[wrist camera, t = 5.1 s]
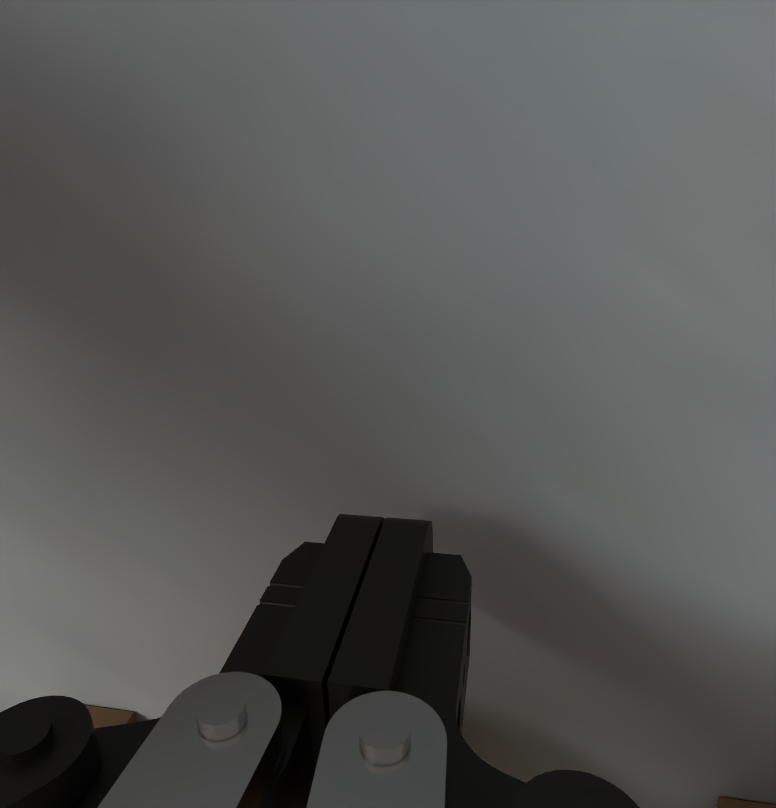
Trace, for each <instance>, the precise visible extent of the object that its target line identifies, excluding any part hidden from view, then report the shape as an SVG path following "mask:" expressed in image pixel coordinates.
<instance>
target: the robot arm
mask: <svg viewBox="0 0 776 808" xmlns="http://www.w3.org/2000/svg"><path fill="white" fill-rule="evenodd" d="M471 585H472V577H471V575H470V573H469V571H468V569H467V567H466V565H465V563H464V561H463V559H462V557H461V555H452V554H441V553H433V530H432V522H431V521H425V520H412V519H400V518H386V519H385V518H383V517H372V516H359V515H346V514H340V515H339V516H338V517H337V519H336V521H335V523H334V525H333V527H332V529H331V531H330V533H329V535H328V537H327V540H326V542H325V544H324V543H312V542H304V543H303V544H302V545H301V546H299V547H298V548H297V549H295V550H294V551H293V552H292V553H290V554H289V555H288V556H287V557H285V558H284V559H283V560H282V561H281V563H280V565H279V567H278V569H277V570H276V572H275V574H274V576H273V578H272V579H271V581H270V586H268V587H267V588H266V590H265V592H264V594H263V596H262V598H261V599H260V604H259V605H257V607H256V608H255V610H254V612H253V614H252V616H251V617H250V619H249V621H248V623H247V625H246V626H245V628H244V630H243V632H242V634H241V635H240V637H239V639H238V641H237V643H236V644H235V646H234V648H233V650H232V652H231V653H230V655H229V657H228V659H227V661H226V662H225V664H224V666H223V668H222V670H221V672H220V673H219V674H216V675H212V676H209V677H207V678H204V679H202V680H200V681H198V682H196V683H194V684H192V685H191V686H189V687H188V688H186V689H185V690H184V691H182V692H181V693H180V694H179V695H178V696H177V697H176V698H175V699H174V700H173V702H172V703H171V704H170V705H169V707H168V708H167V710H166V711H165V712H164V714H163V715H162V717H160V718H157V719H152V720H147V721H141V722H134V723H127V724H121V725H114V726H107V727H100V728H94V724H93V721H92V717H91V714H90V712H89V710H88V709H87V707H86V706H85V705H84V704H83V703H81V702H80V701H78V700H76V699H73V698H71V697H66V696H45V697H39V698H35V699H31V700H28V701H25V702H22V703H19V704H17V705H15V706H13V707H10V708H8V709H6V710H4V711H2V712H0V808H639V806H638V805H637V804H636V803H635V802H634V801H633V800H632V799H631V798H630V797H629V796H628V795H626V794H625V793H624V792H623V791H622V790H620V789H619V788H617V787H616V786H615V785H613V784H611V783H610V782H608V781H606V780H604V779H602V778H600V777H597V776H595V775H592V774H589V773H585V772H581V771H574V770H555V771H551V772H546V773H543V774H541V775H538V776H536V777H534V778H533V779H531V780H530V781H528V782H527V783H524V782H522V781H520V780H518V779H516V778H513V777H511V776H509V775H507V774H505V773H503V772H501V771H499V770H497V769H495V768H493V767H492V766H490V765H489V764H487V763H486V762H484V761H483V760H482V759H480V758H479V757H478V756H477V755H476V754H475V753H474V752H473V751H472V750H471V748H470V747H469V746H468V744H467V743H466V742H465V740H464V738H463V736H462V735H461V732H462V723H463V713H464V703H465V695H466V684H467V676H468V667H469V657H470V628H471Z"/></svg>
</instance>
